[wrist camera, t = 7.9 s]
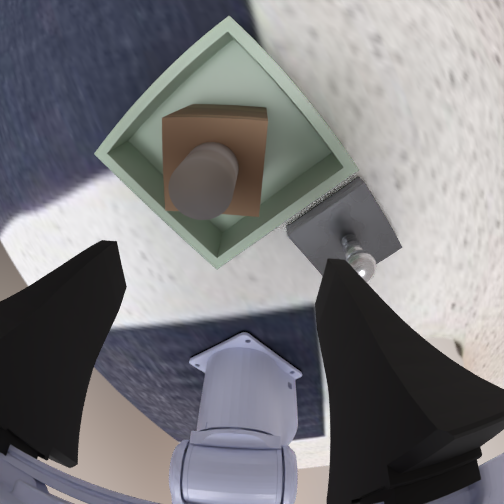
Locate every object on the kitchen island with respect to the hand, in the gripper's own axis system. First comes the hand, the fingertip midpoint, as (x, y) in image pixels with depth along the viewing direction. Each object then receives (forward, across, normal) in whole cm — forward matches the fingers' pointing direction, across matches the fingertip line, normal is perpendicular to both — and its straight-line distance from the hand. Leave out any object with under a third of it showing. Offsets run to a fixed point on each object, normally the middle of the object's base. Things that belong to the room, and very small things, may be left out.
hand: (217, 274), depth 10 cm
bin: (+10, +1, -2) cm, 10 cm away
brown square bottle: (+9, +1, -2) cm, 10 cm away
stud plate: (+10, -8, +3) cm, 13 cm away
